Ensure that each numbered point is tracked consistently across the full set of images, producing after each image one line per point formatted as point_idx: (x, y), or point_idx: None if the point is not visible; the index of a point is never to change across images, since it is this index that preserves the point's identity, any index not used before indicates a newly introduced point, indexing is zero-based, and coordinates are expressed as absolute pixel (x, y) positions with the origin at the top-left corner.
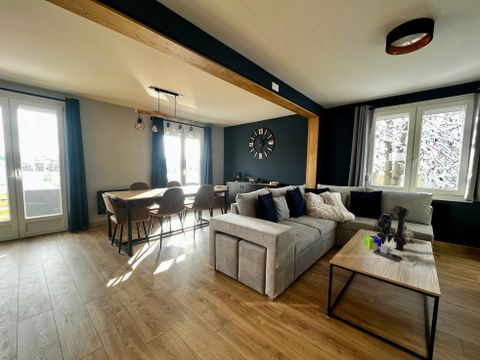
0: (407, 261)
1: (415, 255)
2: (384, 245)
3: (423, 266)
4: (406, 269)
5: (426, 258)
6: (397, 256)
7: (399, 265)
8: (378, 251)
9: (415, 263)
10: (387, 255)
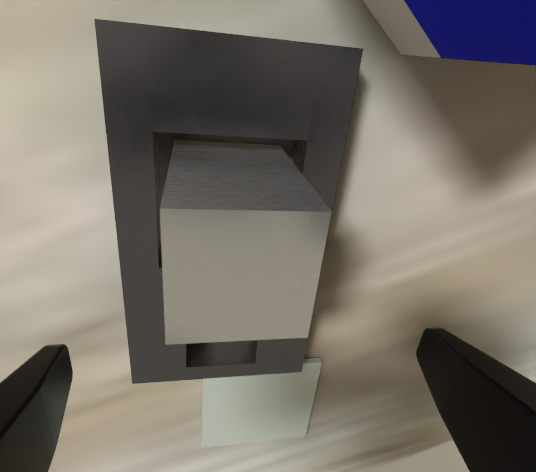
0: (271, 398)
1: (531, 350)
2: (303, 238)
3: (294, 466)
4: (55, 462)
5: None
6: (266, 344)
7: (76, 407)
8: (180, 111)
9: (290, 436)
10: (156, 276)
